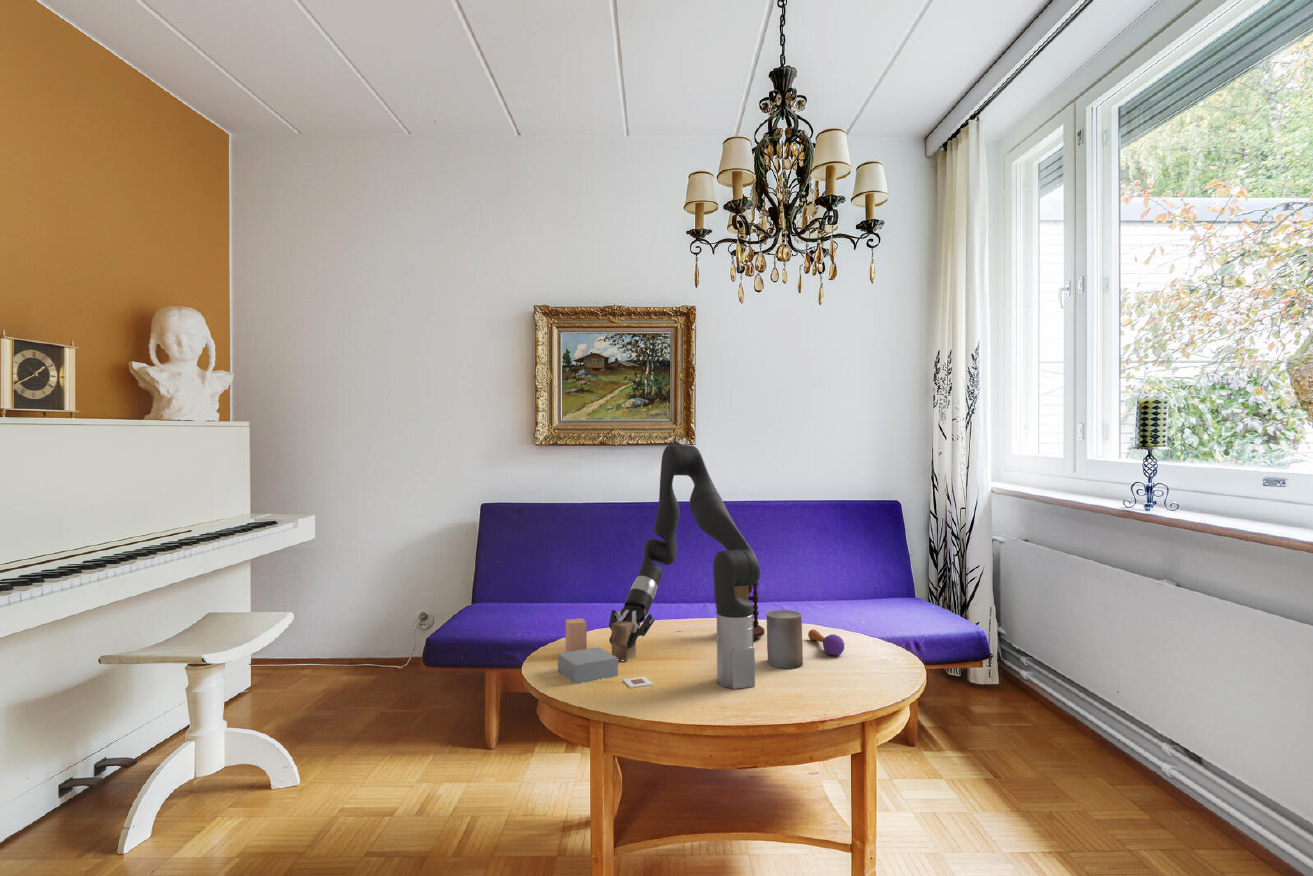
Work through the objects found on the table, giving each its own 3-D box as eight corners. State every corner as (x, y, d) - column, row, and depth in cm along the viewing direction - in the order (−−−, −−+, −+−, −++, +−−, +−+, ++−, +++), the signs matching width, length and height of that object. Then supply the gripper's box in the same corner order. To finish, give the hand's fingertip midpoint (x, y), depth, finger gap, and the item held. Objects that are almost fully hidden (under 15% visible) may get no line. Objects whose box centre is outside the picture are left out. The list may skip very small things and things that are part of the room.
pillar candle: (801, 658, 183) (799, 605, 184) (804, 669, 173) (803, 612, 174) (766, 658, 184) (765, 605, 185) (768, 668, 175) (766, 612, 175)
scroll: (713, 641, 202) (712, 576, 203) (723, 629, 216) (722, 569, 217) (760, 645, 197) (759, 579, 198) (767, 633, 211) (766, 571, 212)
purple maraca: (823, 626, 204) (849, 638, 184) (821, 645, 203) (846, 659, 184) (805, 623, 204) (829, 635, 184) (802, 643, 203) (826, 656, 183)
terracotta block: (586, 657, 186) (586, 622, 187) (569, 659, 184) (569, 623, 185) (582, 652, 191) (582, 618, 191) (565, 654, 189) (565, 619, 189)
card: (653, 685, 162) (653, 683, 162) (630, 688, 160) (630, 686, 160) (645, 677, 168) (645, 676, 168) (623, 680, 165) (623, 679, 165)
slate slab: (617, 677, 169) (617, 658, 169) (575, 685, 163) (575, 665, 163) (598, 665, 179) (598, 647, 180) (557, 672, 174) (558, 653, 174)
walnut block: (635, 657, 185) (635, 622, 186) (626, 662, 181) (626, 626, 181) (621, 655, 188) (620, 620, 188) (611, 659, 183) (611, 624, 184)
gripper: (616, 585, 195) (593, 635, 184) (658, 589, 188) (637, 641, 177) (626, 600, 200) (604, 649, 189) (666, 604, 193) (646, 656, 182)
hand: (620, 645), depth 183 cm, fingers closed on walnut block, 5 cm apart
